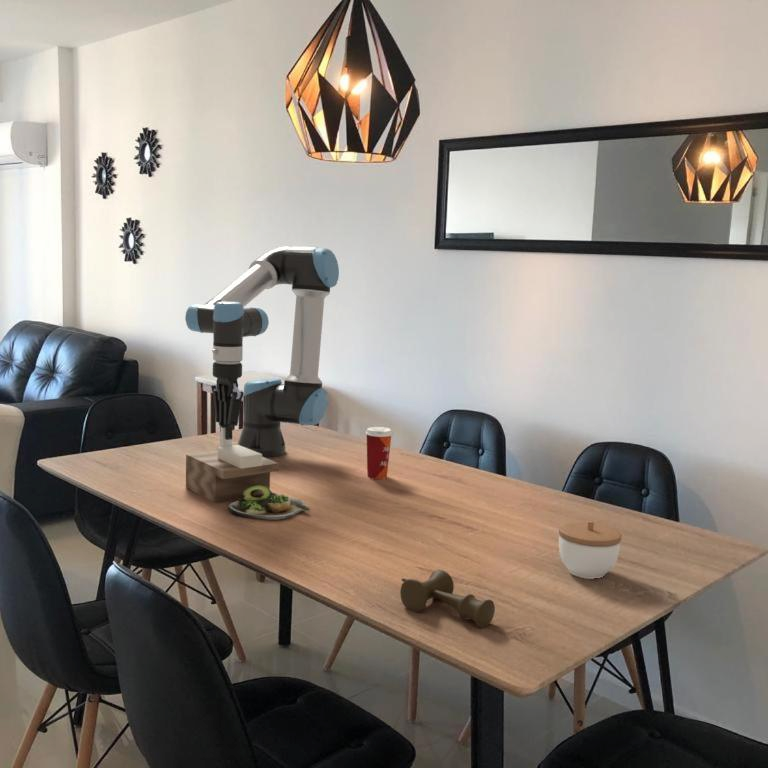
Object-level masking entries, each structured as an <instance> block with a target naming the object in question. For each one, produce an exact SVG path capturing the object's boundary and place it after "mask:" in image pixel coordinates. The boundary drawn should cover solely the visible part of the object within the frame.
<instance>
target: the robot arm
mask: <svg viewBox="0 0 768 768" xmlns="http://www.w3.org/2000/svg"><path fill="white" fill-rule="evenodd" d="M339 270H340V268H339V263H338V260H337V257H336V254H335V253H334V251H332V250H331V249H329V248H326V247H318V246H314V247H313V246H287V245H286V246H280V247H278V248H275V249H271V250H270V251H268V252H265V253H264V254H262V255H260V256H258V258H256V259H254V261H252V262H251V263H250V265H249V267H248V269H247V270H246V271H245V272H244V273H243V274H241V275H240V276H238V277H237V278H236V279H235V280H234V281H232V282H231V283H230V284H229V285H226V287H224V288H223V289H222V290H221V291H220V292H218V293H217V294H216V295H215V296H213V297H212V298H211V299H210V300H208V301H207V302H206V303H204V304H201V303H197V304H191V305H190V306H188V308H187V309H186V312H185V317H184V318H185V323H186V326H187V328H188V329H189V330H190V331H192V332H198V333H201V334H203V333H204V334H212V335H213V341H212V345H213V346H212V348H213V349H212V360H213V361H214V362H213V363H212V376H213V378H216V383H215V384H213V385H210V386H211V391H212V392H211V393H212V398H213V407H214V418H215V422H216V423H218V426H219V427H220V430H219V432H220V433H219V435H220V438H219V441H220V442H219V444H220V445H219V447H224V446H232V445H233V428H234V427H237V426H238V424H239V418H240V411H241V403H243V404H242V405H243V409H242V414H243V415H242V417H243V418H242V429H241V433H240V436H239V437H238V441H237V444H236V445H240V446H243V447H245V448H248V449H250V450H253V451H255V452H258V453H260V454H262V457H264V458H271V457H277V456H282V455H283V454H285V453H286V442H285V439H284V436H283V431H282V428H281V423H285V424H286V423H288V424H294V425H300V426H315V425H317V424H319V423H321V421H322V420H323V418H324V417H325V415H326V414H327V413H326V412H327V410H328V406H329V395H328V394H329V393H328V390H327V389H325V388H323V381H322V380H321V378H319V369H320V368H319V365H320V354H321V345H322V333H323V331H322V330H323V319H324V308H325V307H324V306H325V298H327V297H328V295H330V293H331V288H334V287H336V286H337V284H338V281H339V276H340V271H339ZM276 285H291V291H292V292H293V293H294V295H295V308H294V320H293V334H292V346H291V357H290V369H289V375H287V376H286V377H285V378H284V383H283V381H282V378H275V377H272V378H260V379H253V380H248V381H247V382H245V384H244V386H243V391H242V390H241V391H240V390H239V383H238V379H239V378H241V377H243V363H241V362H243V348H244V346H243V339H244V338H246V337H257V336H259V335H262V334H264V333H265V332H267V330H268V327H269V323H270V322H269V317H268V313H266V312H265V311H264V310H263V309H262V308H259V307H246V306H247V305H248V304H250V303H251V302H252V301H253V300H254V299H255V298H256V297H258V296H259V295H261V294H262V292H264V291H265V290H269V289H272V288H274V287H275V286H276ZM242 399H243V401H242Z"/></svg>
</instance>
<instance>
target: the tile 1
mask: <svg viewBox="0 0 768 768" xmlns="http://www.w3.org/2000/svg"><path fill="white" fill-rule="evenodd" d="M217 450H218V459H220V460H222V461H225V462H227V463H229V452H233V451H241V450H249V449H248V448H245V447H243V446H240V445H237V444H232V446H224V447H220V446H218V447H217Z"/></svg>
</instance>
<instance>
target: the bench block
mask: <svg viewBox="0 0 768 768" xmlns="http://www.w3.org/2000/svg"><path fill="white" fill-rule="evenodd" d="M279 464H280V463H279V462H277V461H273V460H272V459H269V458H268V457H262V466H256V467H249V468H242V469H241V468H238V467H236V466H234V465H232V464H229V463H227V462H225V461H222V460H220V459H218V449H217V450H210V451H202V452H201V451H200V452H195V453H194V452H193V453H186V454H185V488H186V487H187V488H186V489H188V488H189V489H188V490H190V491H191V492H194V493H196V494H198V495H199V496H201V495H202V497H203V496H204V497H203V498H205V497H206V499H207V498H208V499H207V500H209V499H210V500H209V501H211V500H212V501H211V502H213V503H215V502H216V503H221V501H222V502H227V501H232V500H240V499H241V498H243V496H242V494H243V492H244V491H245V490H246V489H247V488H249V487H251V486H255V485H262V486H266V487H268V488H269V489H270V490H271V486H270V484H271V473H272V472H273V473H274V472H279V467H280V466H279Z"/></svg>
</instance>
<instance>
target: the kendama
mask: <svg viewBox="0 0 768 768" xmlns="http://www.w3.org/2000/svg"><path fill="white" fill-rule="evenodd" d="M401 582H403V583H402V584H401V586H400V591H399V592H400V594H399V595H400V599H401V602H402V604H403V606H404V607H405V608H406V609H407V610H409V611H411V612H414V613H420V612H423V610H424V609H425V607H426V606H427V602H428V600H430V599H434V598H436V599H437V600H440V601H442V602H444V603H445V604H447V605H448V606H450V607H451V608H453V609H454V610H455V611H456V612H458V614H459V617H460V618H462V619H470V620H472V621H473V622H474V623H475V625H476V627H478V628H480V629H484V628H486V627H488V626H489V625H490V624H491V622H492V621H493V619H494V616H495V611H496V609H495V607H496V606H495V603H494V601H493V600H491V599H485V600H480V599H477V598H476V597H475V595H474V594H471V593H470V594H466V595H459V594H453V593H454V590H455V588H454V587H455V586H454V581H453V578H452V576H451V575H450V574H449V572H446V571H445V570H441V569H437V570H434V571H433V572H432V573H431V574H430V575H429V578H428V580H426V581H423V582H422V581H419V580H417V579H414V578H408V579H407V578H401Z"/></svg>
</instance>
